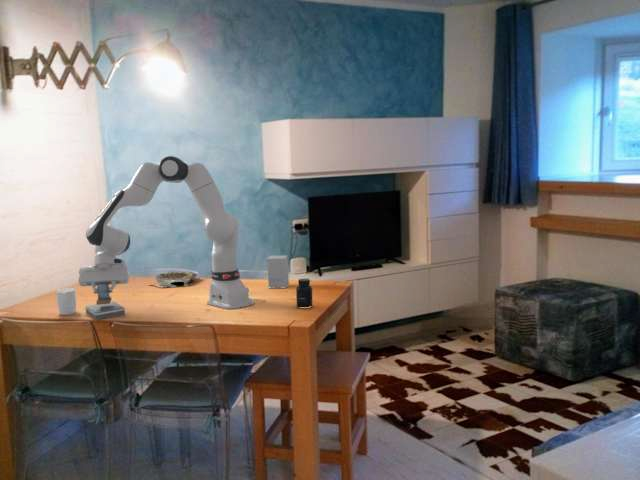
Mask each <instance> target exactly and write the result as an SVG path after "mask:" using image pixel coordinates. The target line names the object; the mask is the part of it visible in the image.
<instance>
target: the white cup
mask: <svg viewBox="0 0 640 480" xmlns="http://www.w3.org/2000/svg"><path fill="white" fill-rule="evenodd" d="M76 291H77V290H76V288H73V287H68V288H67V287H66V288H60V289H57V290H55V297H56V303H57V308H58V314H59V315H61V316H68V315H74V314H76V312H77V295H76V294H77V292H76Z"/></svg>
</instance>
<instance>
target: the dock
mask: <svg viewBox="0 0 640 480" xmlns="http://www.w3.org/2000/svg"><path fill="white" fill-rule="evenodd" d="M84 308H85V314H87V315H88V316H90V317H91V318H93V319H94V320H95V319H98V320H103V319H102V318H104V319H108V318H113V317H114V318H115V317H119V316H124V315H126V314H125V313H126V312H125V310H126V308H125V307H124V306H122V305H120V304H119V303H118V302H115V301H111V302H110V303H109V304H100V305H97V303H95V304H91V305H87V306H85V307H84Z"/></svg>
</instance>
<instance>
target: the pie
mask: <svg viewBox="0 0 640 480" xmlns="http://www.w3.org/2000/svg"><path fill="white" fill-rule="evenodd" d="M197 274H198V273H196V272H192V271H191V272H190V271H172V272H171V271H170V272H169V271H168V272H165V273H164V272H163V273H159V274H156V276H155V277H154V280H155V281H156V285H154V284H152V286H155V287H156V288H160V289H166V288H177V287H178V285H175V284H172V283H178V282H182V283H183V286H184V287H192V286H194V284H193V285H190V283H191V282H192V281H193V279H195V278H196V277H197ZM152 283H154V282H152ZM160 286H161V287H160Z"/></svg>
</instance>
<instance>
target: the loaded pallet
mask: <svg viewBox="0 0 640 480" xmlns="http://www.w3.org/2000/svg"><path fill="white" fill-rule="evenodd" d="M109 287H110V285H109V284H108V283H100V284H97V285H96V288H97V291H98V293H97V299H96V303H95V304H97V305H100V304H109V303H110V302H112V301H113V299H112V296H110V293H109Z"/></svg>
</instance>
